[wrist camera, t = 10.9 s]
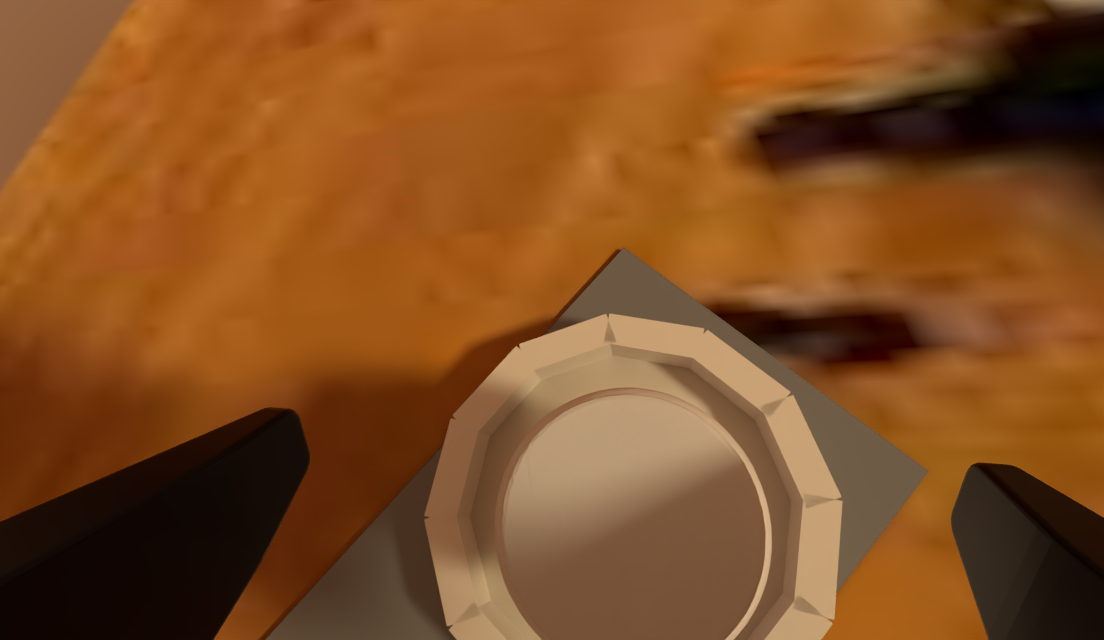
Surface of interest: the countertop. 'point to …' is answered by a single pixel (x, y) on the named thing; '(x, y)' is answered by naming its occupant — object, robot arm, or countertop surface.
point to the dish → (656, 364)
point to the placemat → (399, 531)
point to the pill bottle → (632, 522)
